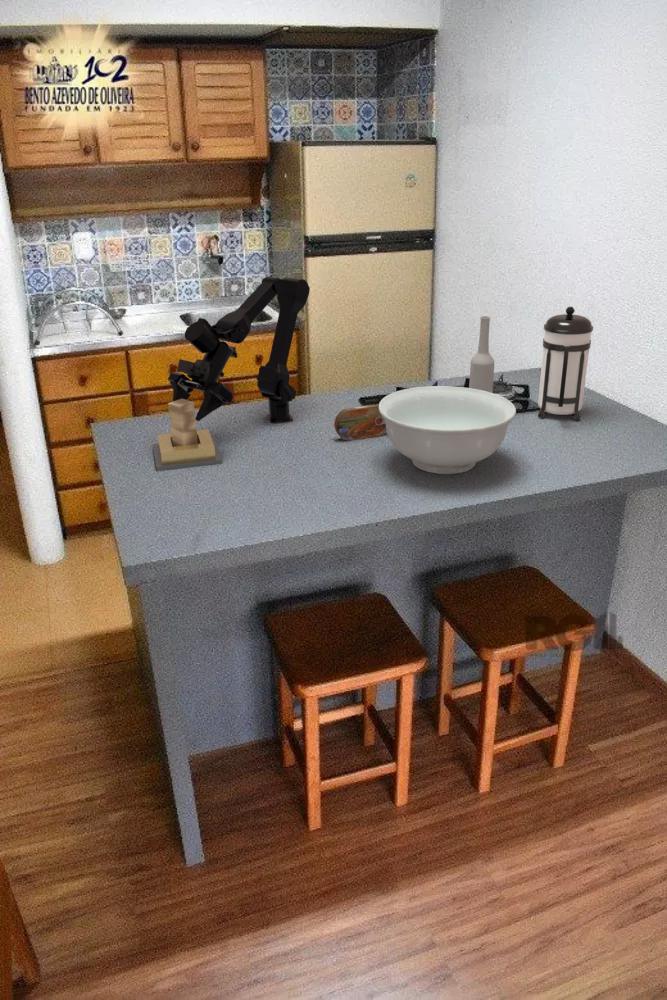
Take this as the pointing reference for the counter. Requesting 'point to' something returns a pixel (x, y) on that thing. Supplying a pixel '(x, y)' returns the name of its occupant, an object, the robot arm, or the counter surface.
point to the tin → (360, 423)
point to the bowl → (446, 425)
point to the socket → (186, 452)
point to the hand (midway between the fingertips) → (184, 416)
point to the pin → (183, 422)
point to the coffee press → (564, 364)
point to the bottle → (482, 361)
